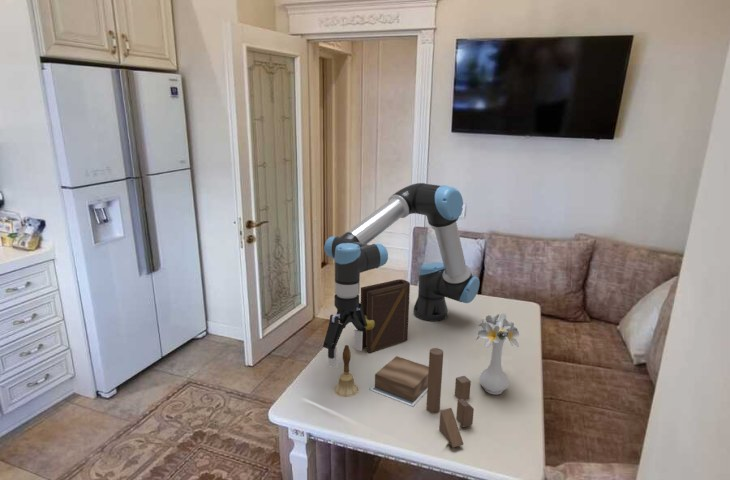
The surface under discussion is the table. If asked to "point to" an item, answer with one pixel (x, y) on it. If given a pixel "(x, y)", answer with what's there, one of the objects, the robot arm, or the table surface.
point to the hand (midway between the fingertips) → (345, 357)
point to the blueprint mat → (397, 396)
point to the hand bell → (346, 378)
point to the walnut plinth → (402, 378)
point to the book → (385, 314)
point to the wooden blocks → (461, 392)
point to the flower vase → (496, 351)
